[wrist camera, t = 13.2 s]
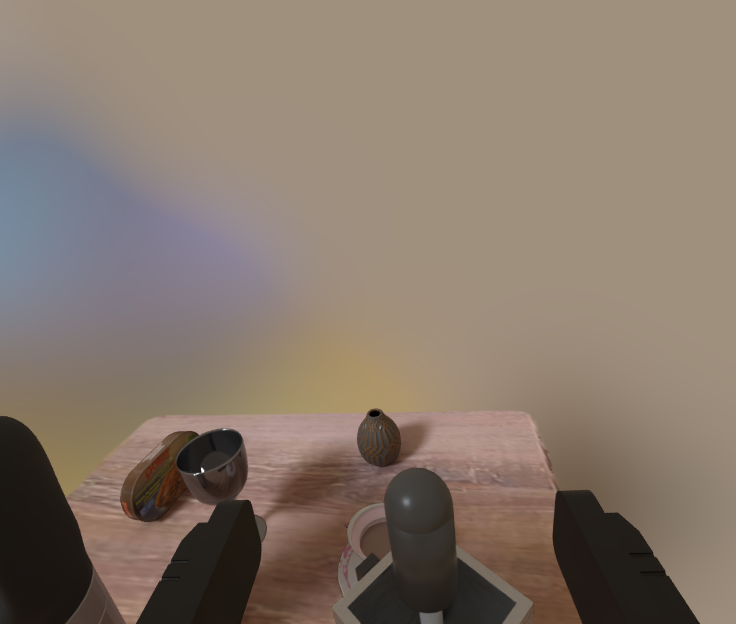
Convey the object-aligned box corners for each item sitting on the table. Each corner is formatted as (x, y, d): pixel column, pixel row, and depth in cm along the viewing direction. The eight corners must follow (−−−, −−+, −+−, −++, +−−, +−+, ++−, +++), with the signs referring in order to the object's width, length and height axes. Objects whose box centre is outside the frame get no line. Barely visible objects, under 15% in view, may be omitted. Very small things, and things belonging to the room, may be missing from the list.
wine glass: (242, 572, 51) (209, 480, 45) (197, 552, 54) (160, 464, 49) (280, 520, 57) (255, 434, 52) (237, 505, 61) (209, 423, 55)
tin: (146, 535, 58) (125, 491, 55) (129, 532, 59) (107, 488, 56) (211, 460, 71) (197, 420, 68) (196, 458, 72) (181, 419, 69)
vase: (369, 440, 70) (362, 397, 67) (408, 446, 68) (402, 402, 64) (353, 468, 65) (345, 423, 61) (395, 477, 62) (388, 430, 59)
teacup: (448, 538, 51) (445, 502, 49) (422, 639, 41) (417, 599, 39) (362, 515, 56) (356, 481, 54) (320, 601, 46) (310, 563, 44)
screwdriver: (375, 709, 34) (324, 483, 25) (435, 634, 39) (411, 420, 29) (450, 810, 29) (420, 567, 19) (510, 709, 33) (510, 472, 24)
